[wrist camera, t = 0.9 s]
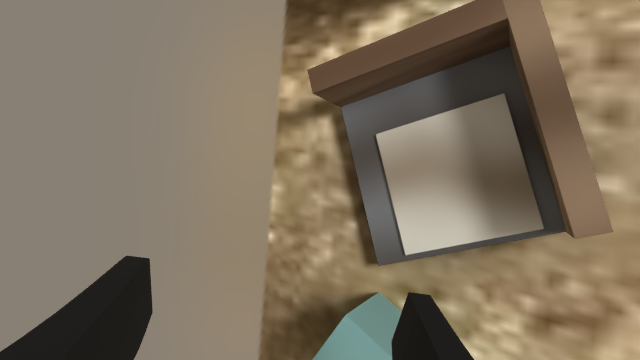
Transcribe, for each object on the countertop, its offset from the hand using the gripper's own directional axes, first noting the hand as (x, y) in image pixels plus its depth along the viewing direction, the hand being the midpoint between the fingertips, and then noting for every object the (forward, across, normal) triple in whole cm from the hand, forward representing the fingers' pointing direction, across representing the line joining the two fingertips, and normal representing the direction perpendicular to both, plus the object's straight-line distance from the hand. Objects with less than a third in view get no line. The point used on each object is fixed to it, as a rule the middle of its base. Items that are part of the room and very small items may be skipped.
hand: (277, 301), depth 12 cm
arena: (+11, -8, -1) cm, 14 cm away
